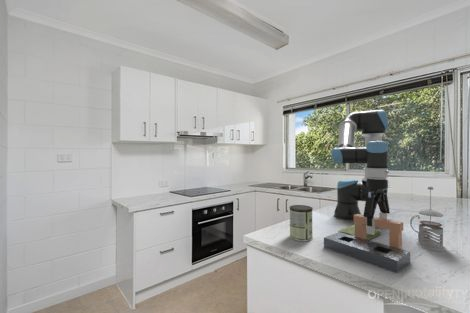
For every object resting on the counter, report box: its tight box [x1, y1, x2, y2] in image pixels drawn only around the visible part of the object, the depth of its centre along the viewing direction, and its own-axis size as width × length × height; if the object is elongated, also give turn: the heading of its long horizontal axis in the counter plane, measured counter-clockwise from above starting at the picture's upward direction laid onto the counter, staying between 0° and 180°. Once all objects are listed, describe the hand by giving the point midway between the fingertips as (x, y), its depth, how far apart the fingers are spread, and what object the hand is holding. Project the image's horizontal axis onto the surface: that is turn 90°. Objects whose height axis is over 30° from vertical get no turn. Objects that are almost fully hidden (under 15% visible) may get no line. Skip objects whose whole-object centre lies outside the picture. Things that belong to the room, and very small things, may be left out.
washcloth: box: [337, 224, 381, 240], centre depth 110 cm, size 13×18×3 cm
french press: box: [409, 186, 447, 252], centre depth 96 cm, size 10×12×25 cm
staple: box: [353, 213, 404, 249], centre depth 94 cm, size 17×4×12 cm, turn 39°
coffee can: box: [289, 204, 314, 242], centre depth 106 cm, size 10×10×14 cm
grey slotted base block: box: [323, 231, 411, 274], centre depth 87 cm, size 26×12×4 cm, turn 36°
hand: (377, 231), depth 94 cm, fingers open, 11 cm apart
